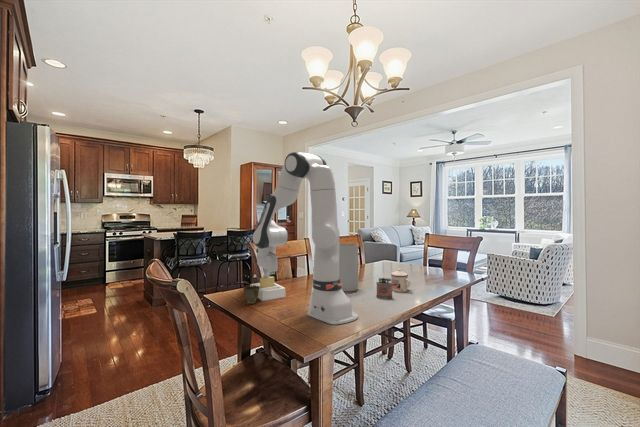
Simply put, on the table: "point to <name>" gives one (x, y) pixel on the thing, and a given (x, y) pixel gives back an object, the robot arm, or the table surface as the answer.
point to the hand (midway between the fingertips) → (267, 277)
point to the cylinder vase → (348, 267)
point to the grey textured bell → (251, 293)
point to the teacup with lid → (400, 281)
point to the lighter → (384, 288)
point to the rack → (270, 292)
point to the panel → (266, 282)
